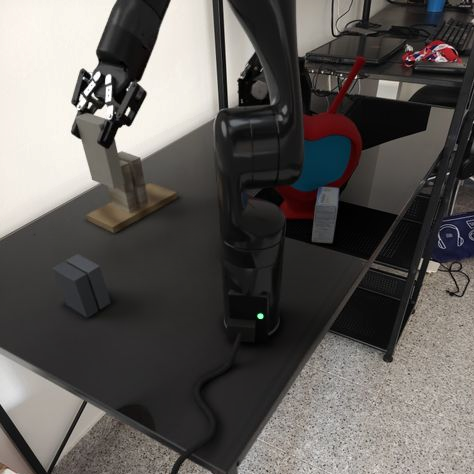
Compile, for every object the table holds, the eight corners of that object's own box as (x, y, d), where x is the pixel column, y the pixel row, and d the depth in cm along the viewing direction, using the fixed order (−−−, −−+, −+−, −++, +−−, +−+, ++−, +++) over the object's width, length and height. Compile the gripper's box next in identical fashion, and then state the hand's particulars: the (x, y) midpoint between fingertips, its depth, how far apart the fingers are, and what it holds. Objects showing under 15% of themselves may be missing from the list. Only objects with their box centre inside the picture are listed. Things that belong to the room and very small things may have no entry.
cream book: (102, 175, 78) (86, 112, 71) (124, 183, 76) (110, 120, 68) (92, 180, 77) (74, 116, 70) (114, 189, 75) (98, 124, 67)
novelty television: (257, 222, 96) (260, 65, 75) (259, 195, 105) (262, 48, 83) (351, 223, 95) (382, 65, 73) (344, 196, 104) (370, 47, 82)
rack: (151, 188, 109) (143, 138, 100) (177, 198, 105) (171, 147, 96) (87, 220, 98) (72, 168, 89) (114, 233, 94) (100, 179, 85)
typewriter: (336, 185, 108) (354, 69, 90) (231, 177, 112) (228, 65, 94) (341, 138, 129) (356, 37, 111) (252, 133, 133) (253, 35, 115)
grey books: (89, 290, 80) (77, 253, 74) (110, 302, 77) (99, 265, 72) (66, 304, 77) (51, 267, 71) (87, 318, 75) (74, 281, 69)
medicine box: (332, 244, 89) (338, 205, 83) (310, 242, 90) (315, 203, 84) (334, 225, 95) (340, 187, 89) (313, 223, 95) (318, 185, 89)
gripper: (82, 16, 68) (43, 119, 70) (145, 26, 61) (101, 139, 64) (115, 49, 74) (79, 143, 77) (175, 62, 68) (134, 163, 70)
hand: (89, 141), depth 70 cm, fingers closed on cream book, 6 cm apart
